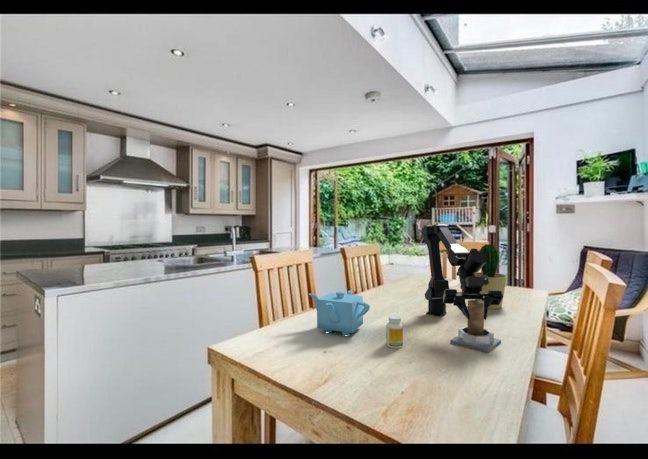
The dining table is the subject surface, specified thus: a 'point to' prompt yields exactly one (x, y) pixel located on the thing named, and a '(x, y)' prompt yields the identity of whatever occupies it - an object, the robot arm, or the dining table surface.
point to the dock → (480, 348)
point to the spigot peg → (475, 317)
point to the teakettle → (340, 311)
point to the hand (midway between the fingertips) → (476, 319)
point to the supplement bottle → (394, 332)
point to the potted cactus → (492, 273)
